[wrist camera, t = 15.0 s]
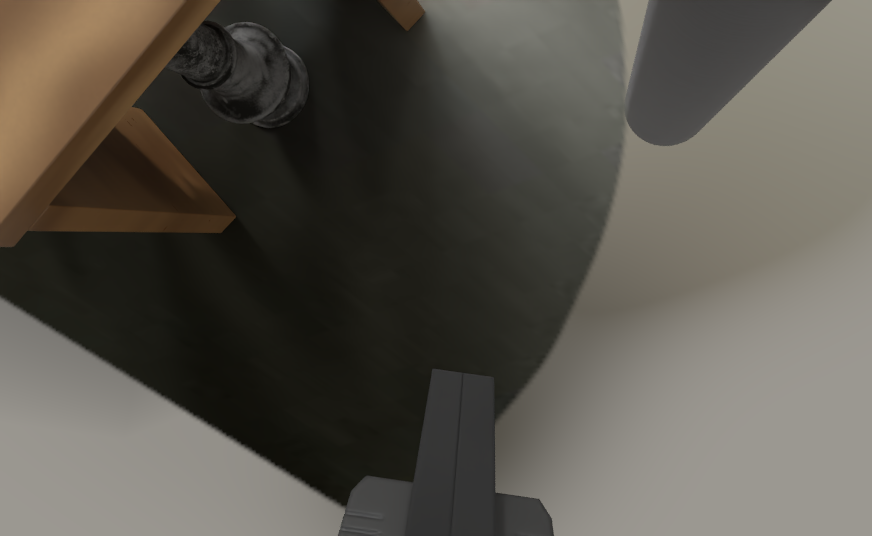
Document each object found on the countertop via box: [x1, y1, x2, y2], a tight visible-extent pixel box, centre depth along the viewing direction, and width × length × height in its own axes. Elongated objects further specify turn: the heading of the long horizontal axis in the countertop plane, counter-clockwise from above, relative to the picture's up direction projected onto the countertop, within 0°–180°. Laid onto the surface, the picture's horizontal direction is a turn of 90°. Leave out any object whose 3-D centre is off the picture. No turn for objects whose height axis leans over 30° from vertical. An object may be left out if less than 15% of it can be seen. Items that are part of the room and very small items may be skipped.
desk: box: [0, 0, 425, 247], centre depth 34 cm, size 10×21×17 cm, turn 134°
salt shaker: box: [164, 21, 309, 128], centre depth 36 cm, size 6×6×12 cm
